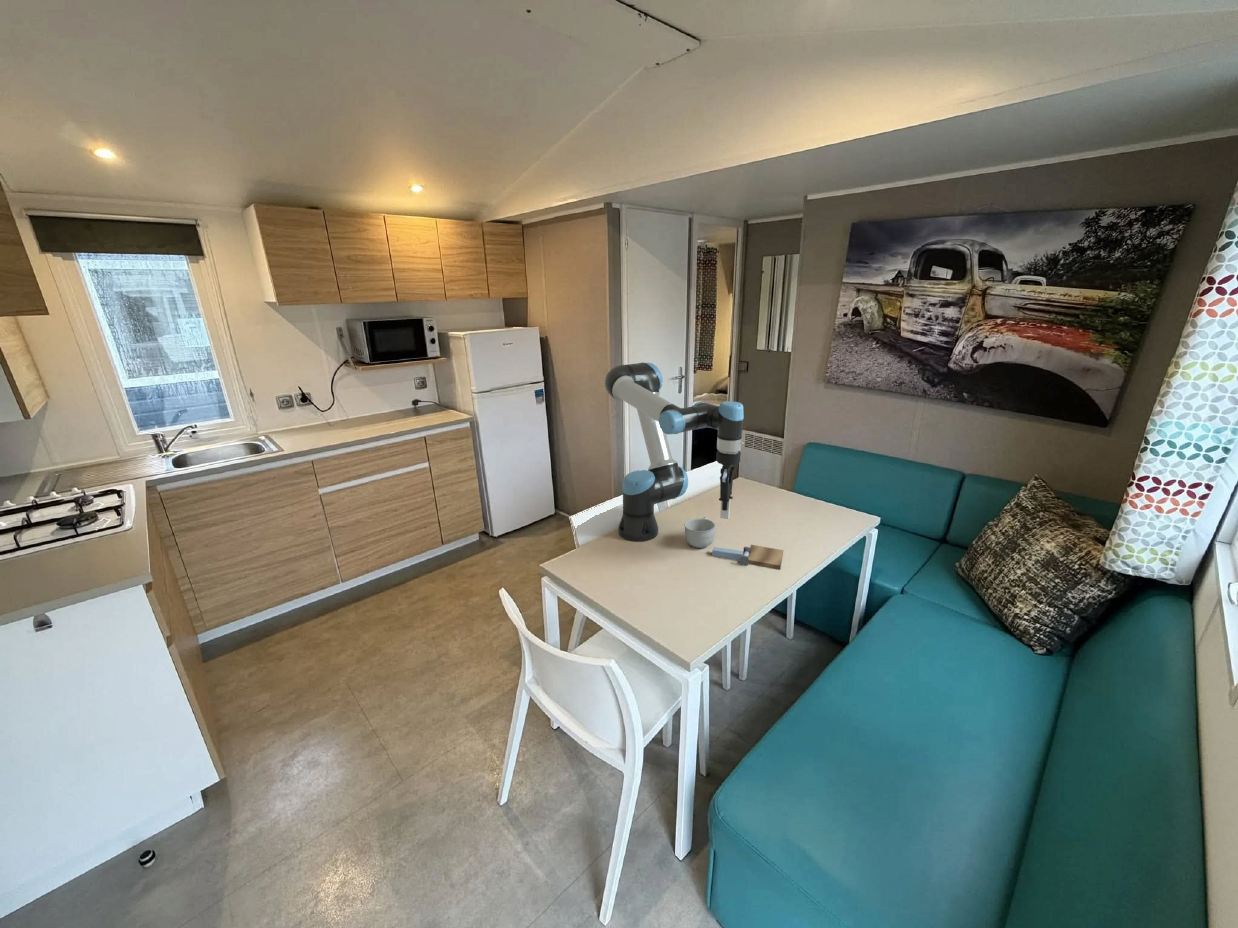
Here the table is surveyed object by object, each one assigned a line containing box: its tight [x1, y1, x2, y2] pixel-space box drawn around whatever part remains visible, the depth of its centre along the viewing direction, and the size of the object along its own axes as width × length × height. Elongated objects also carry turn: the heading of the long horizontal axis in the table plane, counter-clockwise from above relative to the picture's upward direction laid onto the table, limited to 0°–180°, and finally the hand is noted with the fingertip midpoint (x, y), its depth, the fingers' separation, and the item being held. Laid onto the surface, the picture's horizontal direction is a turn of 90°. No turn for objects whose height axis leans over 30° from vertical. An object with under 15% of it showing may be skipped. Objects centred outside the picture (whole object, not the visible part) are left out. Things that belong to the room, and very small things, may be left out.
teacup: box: [684, 516, 716, 549], centre depth 175 cm, size 14×11×8 cm
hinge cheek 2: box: [739, 555, 749, 567], centre depth 160 cm, size 2×1×3 cm, turn 67°
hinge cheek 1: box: [742, 546, 751, 555], centre depth 166 cm, size 2×1×3 cm, turn 67°
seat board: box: [748, 544, 784, 570], centre depth 164 cm, size 11×11×1 cm
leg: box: [711, 546, 749, 562], centre depth 165 cm, size 12×5×3 cm, turn 68°
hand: (724, 517), depth 162 cm, fingers closed
